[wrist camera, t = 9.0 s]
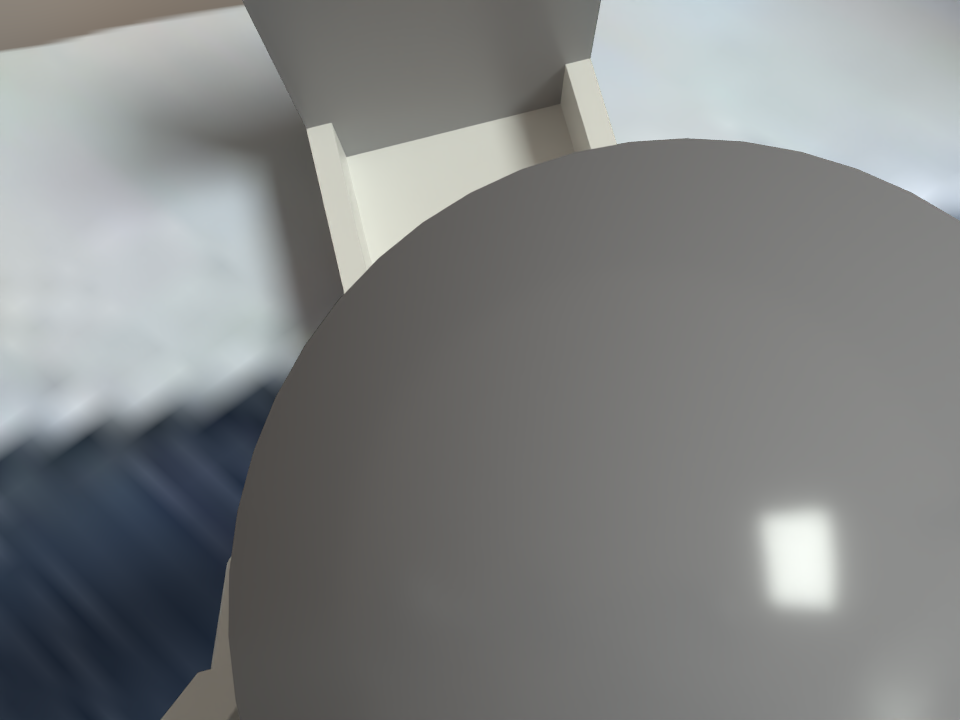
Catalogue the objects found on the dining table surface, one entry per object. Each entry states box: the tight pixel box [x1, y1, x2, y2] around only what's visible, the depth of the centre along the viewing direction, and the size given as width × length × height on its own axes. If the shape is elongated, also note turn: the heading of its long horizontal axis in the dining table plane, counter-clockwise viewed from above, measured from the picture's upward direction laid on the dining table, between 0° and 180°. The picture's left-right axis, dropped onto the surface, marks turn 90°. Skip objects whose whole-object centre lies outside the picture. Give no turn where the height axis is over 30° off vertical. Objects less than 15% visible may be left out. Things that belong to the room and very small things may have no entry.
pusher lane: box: [242, 0, 617, 294], centre depth 23 cm, size 9×20×10 cm, turn 14°
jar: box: [228, 138, 960, 720], centre depth 10 cm, size 6×6×11 cm
